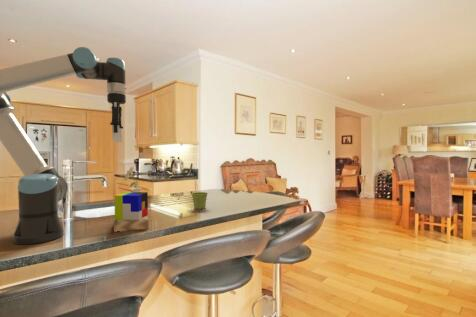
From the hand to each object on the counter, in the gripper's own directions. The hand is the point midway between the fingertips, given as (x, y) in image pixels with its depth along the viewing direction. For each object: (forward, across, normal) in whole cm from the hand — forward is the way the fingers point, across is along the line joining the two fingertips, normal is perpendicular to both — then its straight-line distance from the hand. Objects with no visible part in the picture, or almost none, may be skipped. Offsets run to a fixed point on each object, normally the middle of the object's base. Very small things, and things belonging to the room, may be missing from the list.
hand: (117, 141), depth 123 cm
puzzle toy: (+33, -9, -6) cm, 35 cm away
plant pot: (+37, +19, -41) cm, 58 cm away
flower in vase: (+37, +13, -7) cm, 40 cm away
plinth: (+37, -9, -6) cm, 38 cm away
